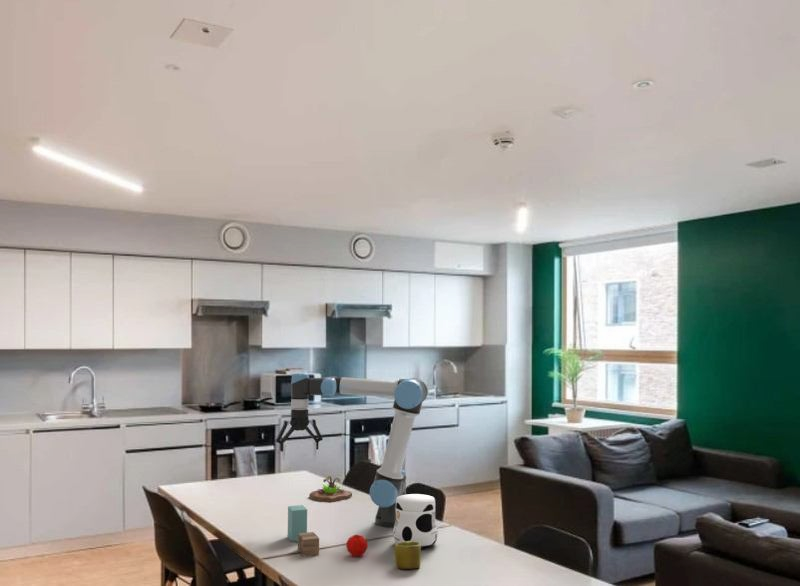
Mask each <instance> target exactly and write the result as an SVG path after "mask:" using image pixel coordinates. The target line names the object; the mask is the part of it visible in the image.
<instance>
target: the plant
mask: <svg viewBox="0 0 800 586" xmlns="http://www.w3.org/2000/svg"><path fill="white" fill-rule="evenodd" d="M322 480H323V483H326V482H327V485H324V484H322V487H321V488H318V489H316V490H314V491H311V492H310V493H309V494H308V495H309V499H311V500H312V501H317V502H327V503H336V502H340V501H341V502H342V501H344V500H349V499H351V498H352V497H353V492H351V491H349V490H345V489H342V488H341V487H342V486H341V485H340V486H338V485H337V484H336V483H335V482H336V480H337V482H339V483H340V482H341V479H340V478H338V477H336V478H334V479H332V477H331V476H330V475H328V476H327V477H326V478H324V479H322Z"/></svg>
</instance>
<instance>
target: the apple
mask: <svg viewBox="0 0 800 586" xmlns="http://www.w3.org/2000/svg"><path fill="white" fill-rule="evenodd" d="M345 545H346V549H347V551H348V552H349V554H350V555H351V556H352V557H355V558H359V557H362V556H363V555H364V554H365V553H366V552H367V550H368V542H367V539H366V538H365V537H364V536H363V535H360V534H355V535H352V536H350V537H349V538H348V539H347V541H346V544H345Z"/></svg>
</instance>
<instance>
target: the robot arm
mask: <svg viewBox="0 0 800 586" xmlns="http://www.w3.org/2000/svg"><path fill="white" fill-rule="evenodd" d="M290 387H291V388H290V389H291V390H290V391H291V395H290V400H291V401H290V404H291V405H290V408H291V410H290V419H289V420H285V419H284V420H283V423H282V427H281V429H280V431H279V433H278V435H277V437H276V439H275V443H276V444H279V451H280V452H282V453H281V459H282V460H286V444H285V442H286V441H287V440H288V438H290V436H291V435H292V433H293V432H295V431H297V432H298V431H306V433H308V434H309V436H310V437H311V438H312V439H313V442H312V457H313V458H316V459H317V450H319V443H320V441H323V436H322V434H321V432H320V430H319V428H318V426H317V422H316V421H317V420H316V419H314V418H312V419H309V409H308V408H309V400H310V399H309V397H310V396H326V397H327V396H328V397H329V396H334V395H350V396H363V397H376V398H390V399H394V400H393V404H392V405H393V406H392V409H393V411H394V416H393V420H392V423H391V427H390V432H389V434H388V435H389V436H388V440H387V442H386V443H387V444H386V446H385V452H384V455H383V460H382V463H381V467H379V468H378V469H376V473H375V475H374V476H375V477H374V480H373V483H372V484H371V486H370V489H369V497H370V499H371V500H372V502H373V504H375V505H376V506H378V507H377V510H376V515H375V518H374V519H375V520H374V522H375V523H374V524H376V525H378V526H382V527H387V528H388V527H389V528H394V525H395V521H396V498H397V497H398V496H401V495H406V494H407V492H406V491H407V489H406V488H407V472H406V470H404V469H403V466H404V463H405V457H406V454H407V449H408V446H409V442H410V439H411V438H410V437H411V435H412V430H413V426H414V422H415V418H416V417H417V416H419V415H420V413H421V410H422V409H421V408H422V405H423V402H424V401H425V400H426V399H427V397H428V387H427V385H426V383H425V382H424V381H423V380H421V379H419V378H416V377H413V378H398V379H397V380H389V379H388V380H387V379H375V378H373V379H372V378H357V377H344V376H343V377H341V376H335V375H329V376H326V377H310V374H309V373H307V372H295V373H293V374H292V375H291V382H290ZM309 424H310V425H311V426H312V428H313V429H314V432H315V434H316V435H315V434H314V433H313V432H312V430H311V429H310V428H309V427H308V426H309ZM289 425H290V428H289V429H288V431H287V432H286V429H287V427H288V426H289ZM285 432H286V433H285ZM284 433H285V434H284ZM283 435H284V436H283Z"/></svg>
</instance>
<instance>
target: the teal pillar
mask: <svg viewBox="0 0 800 586" xmlns="http://www.w3.org/2000/svg"><path fill="white" fill-rule="evenodd" d="M307 532H308V509H307V507H306V506H304V505H302V504H301V505H300V504H299V505H288V506H287V538H288V539H289V540H290V541H291V542H298V533H307Z"/></svg>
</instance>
